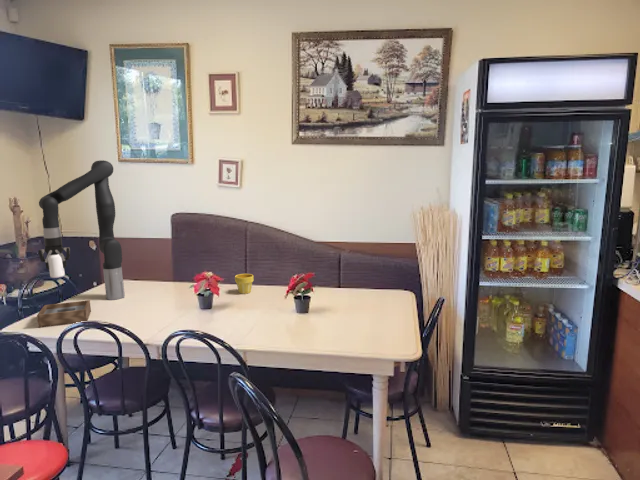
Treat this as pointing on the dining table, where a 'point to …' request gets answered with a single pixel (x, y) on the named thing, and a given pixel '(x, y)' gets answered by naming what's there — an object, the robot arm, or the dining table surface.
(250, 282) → the plant pot
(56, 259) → the can
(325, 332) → the dining table surface
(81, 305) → the box
